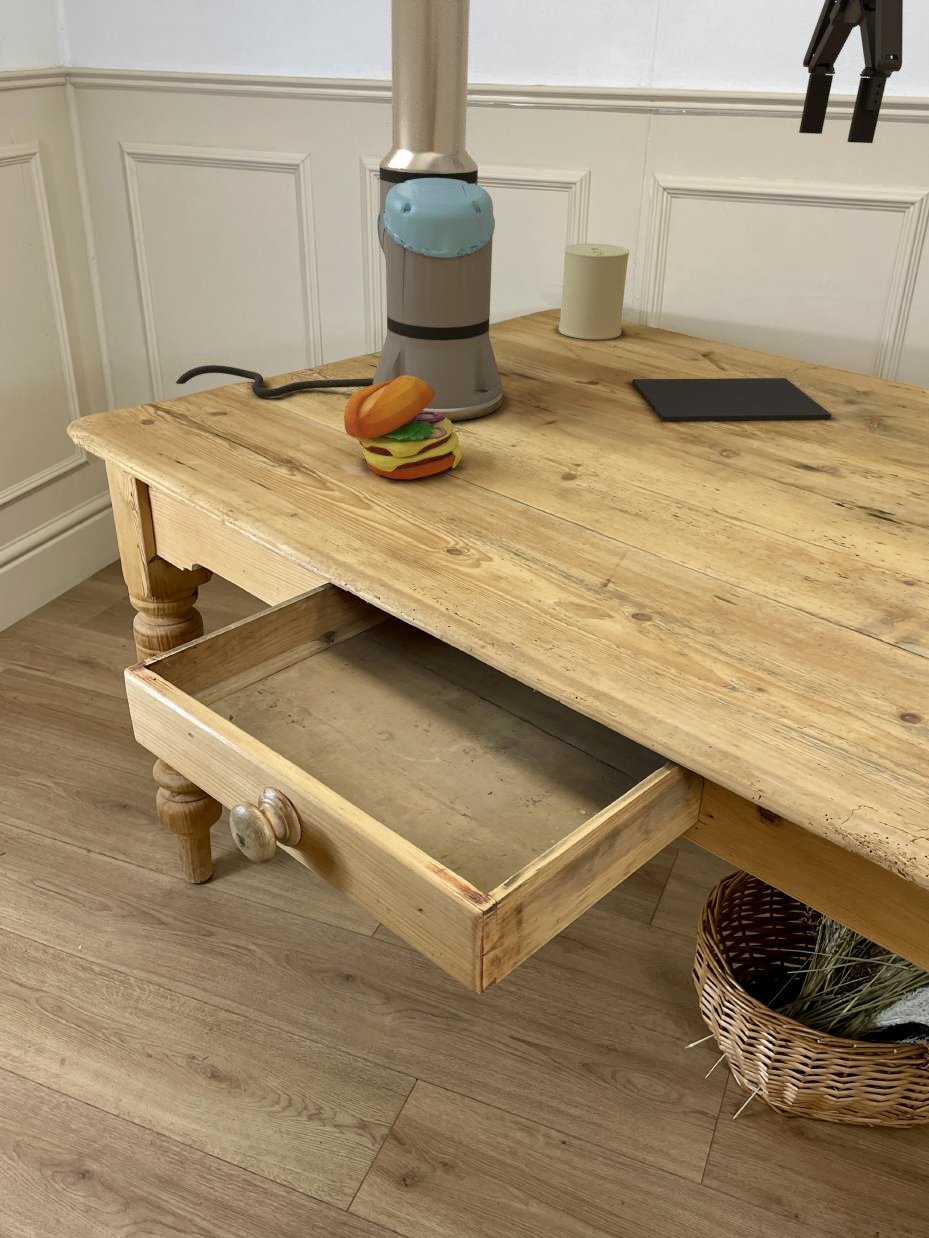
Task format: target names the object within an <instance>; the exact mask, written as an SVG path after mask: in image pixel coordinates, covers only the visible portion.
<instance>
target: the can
mask: <svg viewBox="0 0 929 1238" xmlns="http://www.w3.org/2000/svg"><path fill="white" fill-rule="evenodd" d="M629 256H630V250H629V249H628V248H626V247H623V246H620V245H619V246H618V245H614V244H607V243H606V244H604V243H574V244H569V245H567V246H565V247H564V258H563V259H564V261H563V277H562V292H561V293H562V294H561V304H560V315H559V317H560V318H559V325H558V332H559V333H560V334H562V335H564V336H566V337H570V338H572V339H573V338H574V339H579V340H591V341H593V340H594V341H595V340H596V341H597V340H598V341H599V340H601V341H603V340H611V339H615V338H617V337H620V335H622V319H623V318H622V317H623V307H624V299H625V298H624V297H625V289H626V280H627V279H626V278H627V269H628V262H629Z"/></svg>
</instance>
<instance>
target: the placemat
mask: <svg viewBox="0 0 929 1238" xmlns="http://www.w3.org/2000/svg"><path fill="white" fill-rule="evenodd" d="M631 384H632V386H633V387H634V388H635V390H636V391H638V393H639V394H640V395H641V397H642V398H643V399H644V401H645V402H646V403H647V404H648V406H650V408H651V409H652V410H653V412H654V413H655V414H656V416H658V418H659V419H660V420H661V421H662V422H714V421H717V422H718V421H719V422H720V421H725V422H727V421H791V420H792V421H793V420H795V421H796V420H797V421H801V420H831V419H832V413H830V412H829V411H828V410H827V409H826V408H824V407H823V406H821V405H820V404H819V403H818V402H816V401H815V400H814V399H813V398H811V397H810V396H809V395H808V394H807V393H805V392H804V391H802V390H801V389H800V388H799V387H798V386H796V385H795V384H794V383H792V382H791V381H790V380H788V379H787V378H786V377H748V378H747V377H745V378H743V377H740V378H738V377H737V378H735V377H734V378H732V377H729V378H721V377H720V378H633V379H631Z"/></svg>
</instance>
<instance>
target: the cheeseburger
mask: <svg viewBox="0 0 929 1238" xmlns="http://www.w3.org/2000/svg"><path fill="white" fill-rule="evenodd" d="M434 396H435V392H434V390H433V389H432V388H431V387H430V386H429V385H428V384H427V383H426V382H424V381H423V380H421V379H418V378H416V377H414V376H408V375H403V376H400V377H398V378H397V379H395V380H390V381H386V382H381V383H378V384H375V385H371V386H368V387H361V388H360V389H358V390H356V391H354V393H352V394H351V395H350V397H349V398H348V399H347V402H346V404H345V410H344V414H343V422H344V423H343V424H344V430H345V433H346V434H347V435H348V436H350V437H352V438H356V439H357V443H358V445H359V446H360V448H361V451H362V454H363V456H364V458H365V461H366V464H367V468H368V469H370V470H371V471H373V472H374V473H375V474H377V475H380V476H382V477H386V478H389V479H392V480H413V479H414V480H415V479H418V478H424V477H428V476H431V475H434V474H438V473H441V472H443V471H446V470H448V469H449V468H451V469H455V468H456V467H457V465H459V463H460V461H461V459H462V457H463V450H462V446H461V445H460V444H459V435H458V434H457V433H456V432H454V428H455V425H454V424H453V422H452V421H450V420H449V419H447V418H445V416H444V415H443V414H442V413H438V412H436V411H426V412H421V411H422V410H424V409H425V408H426V407H427V406H428V405H429V404H430V402H431V401H432V400H433V398H434Z"/></svg>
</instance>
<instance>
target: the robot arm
mask: <svg viewBox="0 0 929 1238" xmlns="http://www.w3.org/2000/svg"><path fill="white" fill-rule="evenodd" d="M470 2H471V0H391V1H390V4H391V5H390V6H391V7H390V8H391V9H390V10H391V11H390V13H391V14H390V17H391V18H390V19H391V22H390V24H391V147H390V150H389V152H388V153H387V154H386V155H385V156H384V157H383V158H382V159H381V160H380V162H379V211H378V212H379V213H378V216H377V221H376V228H377V238H378V242H379V245H380V248H381V250H382V253H383V255H384V259H385V285H386V286H385V287H386V288H385V289H386V293H385V294H386V336H385V340H384V344H383V346H382V349H381V352H380V356H379V360H378V363H377V367H376V370H375V373H374V377H372V378H370V377H369V378H346V379H345V378H344V379H320V380H319V379H317V380H305V381H297V382H292V383H289V384H285V385H283V386H282V385H281V386H279V387H275V388H262V385H263V384H264V378H263V376H262V374H260V373H259V372H256V371H252V370H247V369H243V368H238V367H233V366H228V365H217V364H212V365H211V364H209V365H202V366H201V365H200V366H197V367H194V368H192V369H189V370H187V371H186V372H184V373H183V374H182V375H181V376H179V378H178V379H177V380H176V382H175V384H177V385H184V384H186V383H187V382H188V381H190V380H192V379H193V378H195V377H198V376H201V375H205V374H223V375H231V376H236V377H240V378H245V379H249V380H253V381H254V382H253V384H252V386H251V390H252V393H254V395H255V396H259V397H264V398H273V397H274V398H275V397H279V396H280V397H281V396H283V395H285V394H289V393H292V392H297V391H302V390H310V389H332V388H333V389H334V388H335V389H337V388H339V389H340V388H365V387H368V386H371V385H375V384H378V383H381V382H386V381H390V380H395V379H397V378H398V377H400V376H403V375H408V376H414V377H416V378H418V379H421V380H423V381H424V382H426V383H427V384H428V385H429V386H430V387H431V388H432V389H433V390H434V392H435V396H434V398H433V400H432V401H431V402H430V404H429V405H428V406H427V407H426V408H425V409H424V410H422V411H421V412H426V411H436V412H438V413H442V414H443V415H444V416H445V418H447V419H449V420H450V421H451V422H453V421H454V422H455V421H464V420H470V419H476V418H480V417H484V416H486V415H489V414H491V413H493V412H495V411H497V410H498V409H499V408H500V407H501V406H502V403H503V391H504V390H503V382H502V379H501V376H500V371H499V367H498V364H497V360H496V357H495V353H494V349H493V346H492V342H491V338H490V316H491V290H492V289H491V288H492V265H493V263H492V261H493V239H494V238H493V237H494V232H495V228H496V220H495V215H494V204H493V203H494V202H493V199H492V197H491V195H490V194H489V193H488V191H487V190H486V189H484V188H483V187H482V186H480V185H478V183H479V182H478V174H479V165H478V163H477V162H476V161H475V160H474V159H473V158H472V156H471V155H470V154H469V152H468V151H467V149H466V148H467V117H468V116H467V115H468V114H467V111H468V84H469V83H468V81H469V80H468V79H469V77H468V75H469V46H470V45H469V44H470V43H469V41H470V40H469V39H470V8H471V7H470V6H471V5H470V4H471V3H470ZM903 5H904V0H824V3H823V6H822V8H821V12H820V13H819V17H818V19H817V22H816V25H815V27H814V31H813V33H812V36H811V38H810V41H809V44H808V47H807V49H806V53H805V55H804V58H803V61H802V66H803V67H804V68H807V73H808V74H809V78H808V82H807V87H806V93H805V98H804V103H803V109H802V115H801V121H800V125H799V130H798V133H799V134H811V135H812V134H813V135H815V134H816V135H817V134H818V135H822V134H823V129H824V125H825V120H826V114H827V110H828V104H829V99H830V94H831V88H832V84H833V79H834V75H835V74H836V69H835V66H834V65H835V63H836V61H837V60H838V57H839V55H840V54H841V52H842V50H843V48H844V46H845V44H846V42H847V40H848V38H849V36H850V34H851V33H852V31H853V29H854V28H855V27H858V26H859V30H860V38H861V39H860V40H861V46H862V53H863V62H864V68H863V69H862V71H861V73H859V76H860V78H859V84H858V88H857V92H856V98H855V103H854V107H853V112H852V116H851V122H850V126H849V131H848V136H847V140H846V141H847V143H856V144H857V143H858V144H874V143H873V142H874V137H875V133H876V128H877V125H878V119H879V117H880V116H879V115H880V111H881V107H882V103H883V97H884V93H885V89H886V84H887V80H888V79H889V78H890V77H891V75H892V74H893V72H897V73H898V72H900V71H901V69H902V66H903V28H904V27H903V24H904V22H903V21H904V17H903V16H904V15H903V14H904V6H903Z"/></svg>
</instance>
